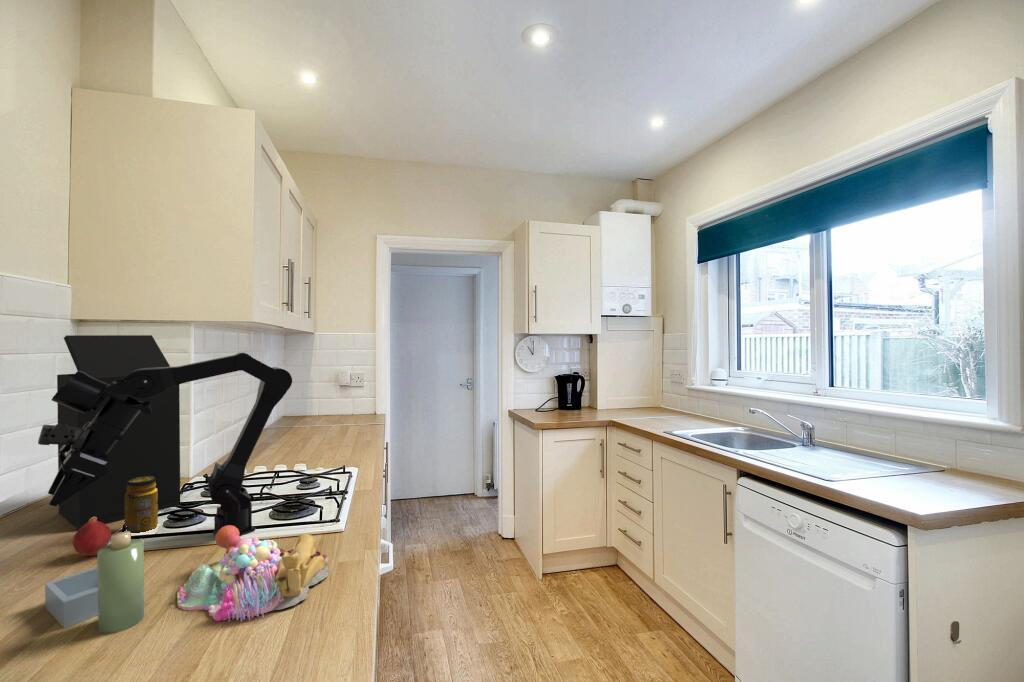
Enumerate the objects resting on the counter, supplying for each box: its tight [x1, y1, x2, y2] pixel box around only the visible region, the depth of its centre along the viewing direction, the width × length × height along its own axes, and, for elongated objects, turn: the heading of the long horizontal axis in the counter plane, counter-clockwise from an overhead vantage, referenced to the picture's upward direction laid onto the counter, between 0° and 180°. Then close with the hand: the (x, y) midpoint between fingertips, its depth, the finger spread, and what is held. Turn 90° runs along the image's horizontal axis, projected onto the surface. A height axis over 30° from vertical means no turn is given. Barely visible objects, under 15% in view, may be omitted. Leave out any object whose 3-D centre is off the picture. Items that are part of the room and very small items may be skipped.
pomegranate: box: [72, 517, 112, 557], centre depth 96 cm, size 6×6×8 cm
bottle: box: [96, 531, 145, 634], centre depth 74 cm, size 6×6×14 cm
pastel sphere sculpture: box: [176, 525, 330, 623], centre depth 86 cm, size 25×24×9 cm
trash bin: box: [56, 334, 181, 531], centre depth 121 cm, size 20×19×45 cm
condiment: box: [124, 476, 159, 533], centre depth 108 cm, size 7×8×12 cm
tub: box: [44, 566, 98, 629], centre depth 80 cm, size 10×10×4 cm
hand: (51, 499), depth 89 cm, fingers open, 9 cm apart
